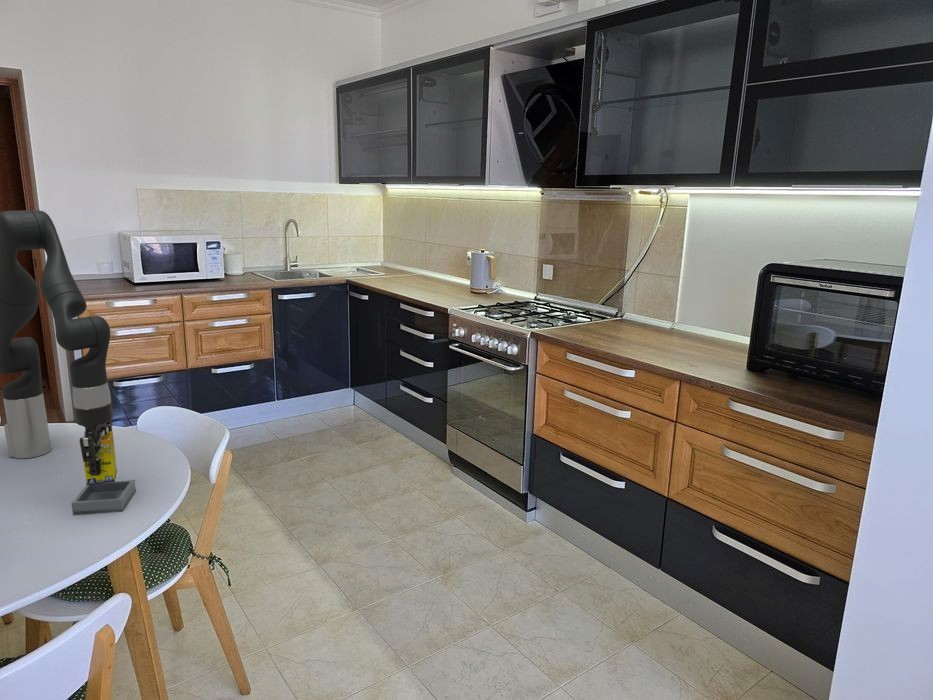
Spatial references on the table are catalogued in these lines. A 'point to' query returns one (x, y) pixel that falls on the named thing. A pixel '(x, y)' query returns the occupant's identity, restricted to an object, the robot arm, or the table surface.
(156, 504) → the table surface
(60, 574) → the table surface
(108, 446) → the supplement box
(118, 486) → the holder
